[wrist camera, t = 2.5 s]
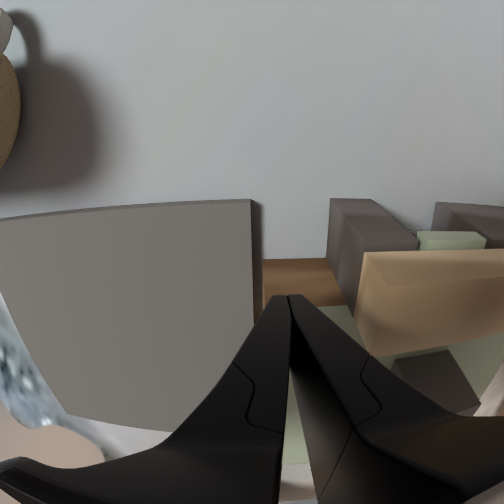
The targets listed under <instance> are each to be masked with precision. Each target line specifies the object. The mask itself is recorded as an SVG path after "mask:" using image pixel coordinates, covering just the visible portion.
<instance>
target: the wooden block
mask: <svg viewBox="0 0 504 504" xmlns="http://www.w3.org/2000/svg"><path fill="white" fill-rule="evenodd" d="M353 318H354V320H355V323H356V325H357V328H358V330H359V332H360V335H361V337H362V340H363V342H364V344H365V347H366V349H367V351H368V352H369V353H370V355H373V356H374V357H376V356H384V355H391V354H398V353H405V352H411V351H417V350H423V349H429V348H434V347H440V346H445V345H450V344H455V343H460V342H464V341H469V340H473V339H477V338H482V337H486V336H490V335H494V334H498V333H501V332H504V249H469V250H431V251H391V252H364V257H363V264H362V271H361V277H360V283H359V289H358V295H357V300H356V306H355V311H354V316H353Z"/></svg>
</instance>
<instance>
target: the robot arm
mask: <svg viewBox="0 0 504 504" xmlns="http://www.w3.org/2000/svg"><path fill="white" fill-rule="evenodd" d="M290 372H291V377H292V382H293V387H294V391H295V396H296V400H297V405H298V410H299V414H300V419H301V424H302V428H303V433H304V438H305V443H306V447H307V452H308V457H309V462H310V467H311V471H312V476H313V481H314V486H315V491H316V496H317V500H318V504H504V416H490V417H474V416H463V415H458V414H455V413H453V412H451V411H448V410H447V409H445V408H443V407H442V406H440V405H439V404H437V403H436V402H434V401H433V400H431V399H430V398H428V397H427V396H425V395H424V394H423V393H421V392H420V391H418V390H417V389H415V388H414V387H412V386H411V385H409V384H408V383H407V382H405V381H404V380H402V379H401V378H400V377H398V376H397V375H395V374H394V373H393V372H392V371H390V370H389V369H388V368H387V367H385V366H384V365H383V364H382V363H381V362H379V361H378V360H377V359H376V358H375V357H374V356H373V355H370V353H369V352H368V351H367V350H365V349H364V348H363V347H362V346H361V345H360V344H359V343H357V342H356V341H355V340H354V339H353V338H352V337H351V336H349V335H348V334H347V333H346V332H345V331H344V330H342V329H341V328H340V327H339V326H338V325H337V324H336V323H334V322H333V321H332V320H331V319H330V318H329V317H328V316H326V315H325V314H324V313H323V312H322V311H321V310H319V309H318V308H317V307H316V306H315V305H314V304H313V303H311V302H310V301H309V300H308V299H307V298H306V297H305V296H303V295H302V294H289V295H288V296H286V295H285V294H282V295H272V296H271V298H270V300H269V301H268V303H267V305H266V306H265V308H264V310H263V311H262V313H261V315H260V316H259V318H258V320H257V321H256V323H255V324H254V326H253V328H252V329H251V331H250V333H249V334H248V336H247V337H246V339H245V341H244V342H243V344H242V346H241V347H240V349H239V350H238V352H237V354H236V355H235V357H234V358H233V360H232V362H231V364H229V366H228V368H227V369H226V371H225V372H224V374H223V375H222V377H221V378H220V380H219V381H218V382H217V384H216V385H215V387H214V388H213V389H212V390H211V391H210V393H209V394H208V395H207V396H206V397H205V399H204V400H203V401H202V402H201V403H200V404H199V405H198V406H197V407H196V409H195V410H194V411H193V412H192V413H191V414H190V415H189V416H188V417H187V418H186V419H185V420H184V422H183V423H182V424H181V425H180V426H179V427H178V428H177V429H176V430H175V431H174V432H173V433H172V434H171V435H170V436H169V437H168V438H167V439H165V440H164V441H163V442H161V443H160V444H158V445H157V446H155V447H153V448H151V449H148V450H145V451H142V452H139V453H135V454H132V455H129V456H125V457H122V458H118V459H115V460H111V461H107V462H104V463H100V464H96V465H92V466H87V467H82V468H76V469H63V468H55V467H51V466H47V465H44V464H42V463H39V462H37V461H35V460H32V459H29V458H27V457H17V458H13V459H8V460H5V461H2V462H0V489H2V490H3V491H4V492H6V493H7V494H8V495H10V496H11V497H13V498H14V499H16V500H17V501H18V502H20V503H21V504H278V501H279V491H280V481H281V470H282V458H283V447H284V436H285V425H286V414H287V401H288V388H289V373H290Z"/></svg>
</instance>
